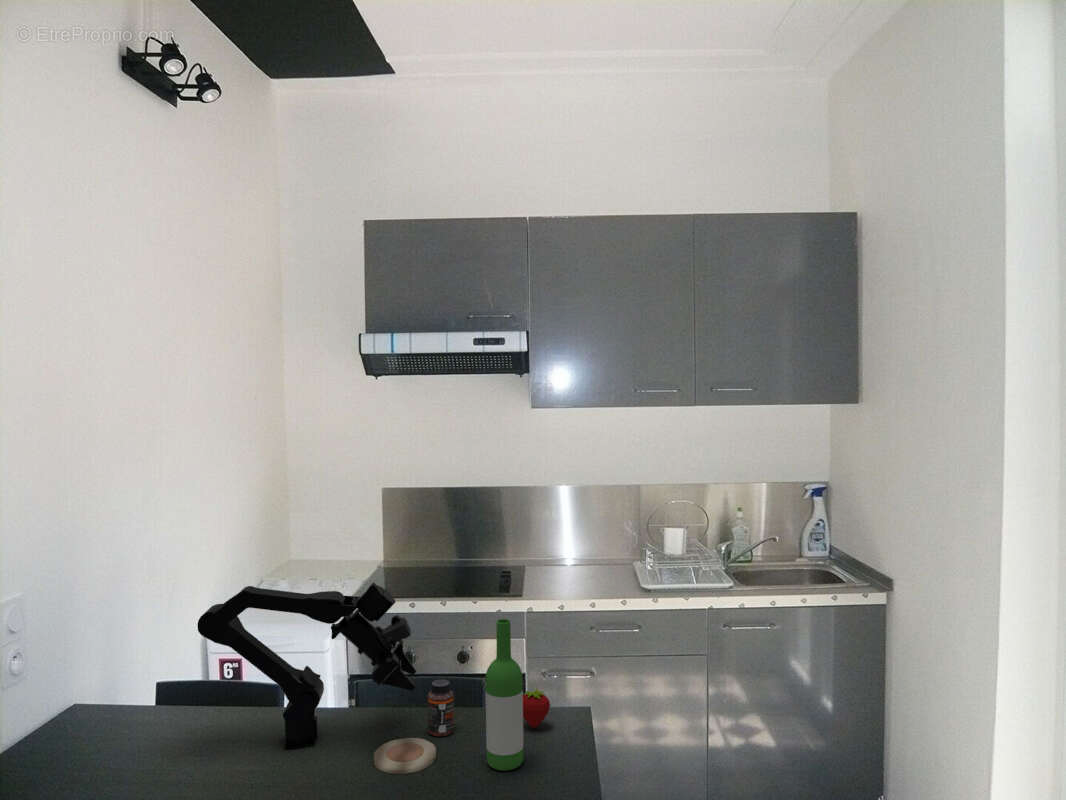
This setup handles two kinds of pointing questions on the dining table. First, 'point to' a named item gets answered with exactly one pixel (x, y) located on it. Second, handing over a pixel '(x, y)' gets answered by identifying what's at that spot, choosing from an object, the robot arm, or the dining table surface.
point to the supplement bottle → (440, 709)
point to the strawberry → (535, 707)
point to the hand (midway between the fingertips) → (414, 680)
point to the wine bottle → (504, 705)
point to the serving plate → (404, 755)
